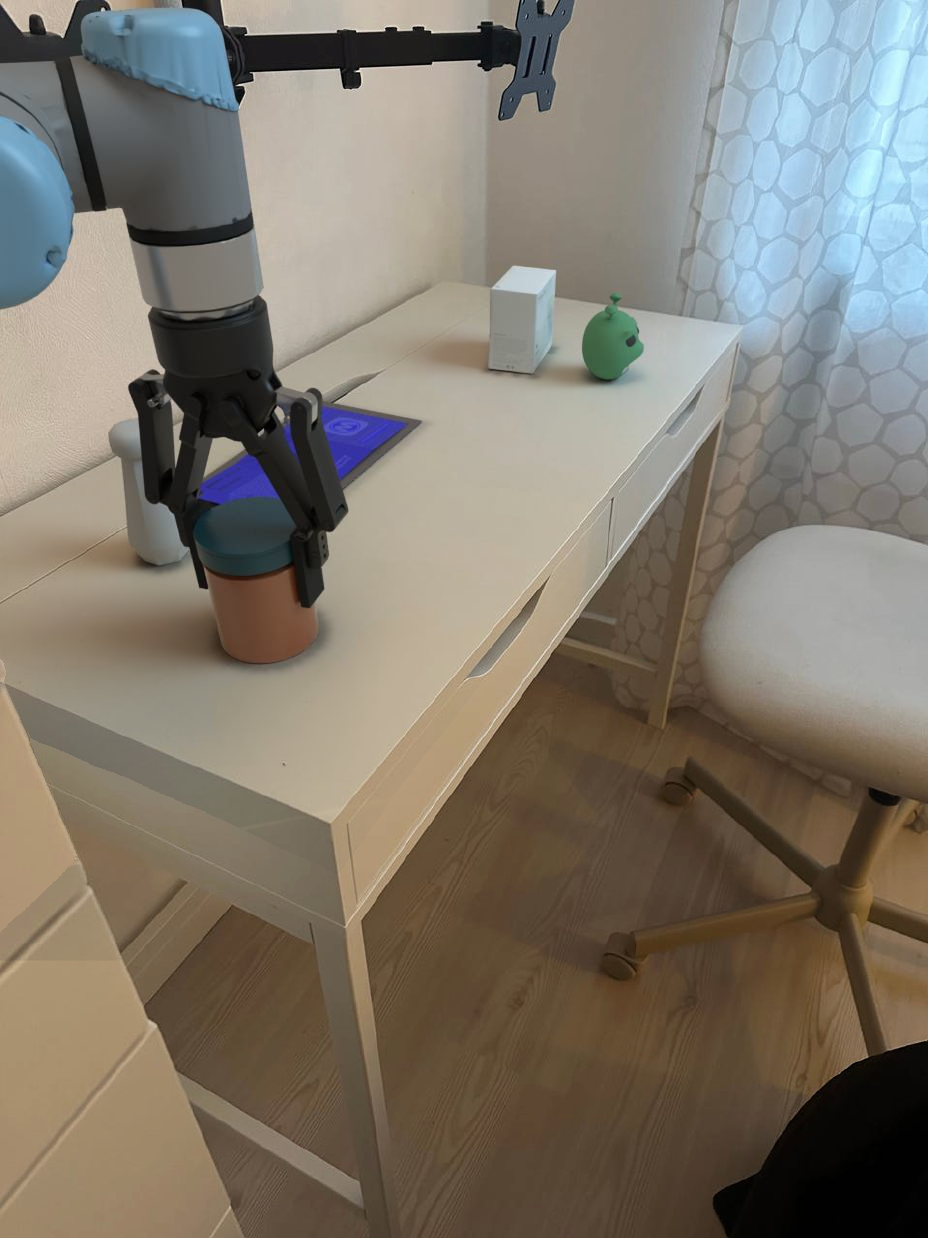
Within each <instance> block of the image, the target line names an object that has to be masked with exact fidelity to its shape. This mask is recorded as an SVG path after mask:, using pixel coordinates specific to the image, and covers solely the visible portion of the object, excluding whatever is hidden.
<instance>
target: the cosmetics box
mask: <svg viewBox="0 0 928 1238" xmlns="http://www.w3.org/2000/svg"><path fill="white" fill-rule="evenodd" d="M556 280H557V270H556V269H548V268H542V267H541V268H540V267H530V266H521V265H511V266H510V268H509V269H508V270H507V271H506V272H505V273H504V274H503V275H502V276H501V278H499V280H497V282H495V284H494V285H493V286H491V288H490V291H489V293H490V295H489V342H488V343H489V344H488V358H487V359H488V360H487V361H488V364H487V368H488V369H489V370H498V371H508V372H515V373H523V374H530V375H531V374H534V373H535V371H536V370H537V368H538V367H539V366H540V364H541V363H542V361H543V360H544V358H545V357H546V356H547V353H548V352H549V351H550V349H551V348H552V345H553V328H554V327H553V326H554V310H555V297H556V296H555V295H556Z"/></svg>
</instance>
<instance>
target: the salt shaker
mask: <svg viewBox="0 0 928 1238" xmlns="http://www.w3.org/2000/svg"><path fill="white" fill-rule="evenodd" d="M107 435H108V443H109V447H110V449H111V452H112V454H113V455H114V456H116V457H118V459H119V458H120V461H121V462H120V463H121V470H122V471H121V472H122V482H123V492H124V493H123V494H124V502H125V517H126V531H127V532H126V533H127V534H126V535H127V538H128V542H129V544H130V547H131V548H132V549H133V550H134V552H136V553H137V555H138V556H140V557H141V559H142V560H143V561H144V562H146V563H150V564H152V565H154V566H155V565H156V566H158V567H159V566H165V565H168V564H172V563H177V562H180V561H181V560H182V559H183V558H184V557H185V556H186V554H187V553H188V552H190V549H189V547H184V546H183V544H182V542H181V541H180V537H179V533H178V529H177V525H176V521H175V517H174V514H173V513H171V512H170V510H169V509H168V507H167V506H166V505H163V504H161V503H158V504H151V503H149V502H148V501H147V499H146V498H145V491H144V480H143V468H142V456H141V445H140V433H139V422H138V417H134V418H128V419H124V420H120V421H118V422H117V423H115V424H113V425H112V427H111V428H110V429H109V431H108V433H107Z"/></svg>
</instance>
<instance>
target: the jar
mask: <svg viewBox="0 0 928 1238" xmlns="http://www.w3.org/2000/svg"><path fill="white" fill-rule="evenodd" d="M202 565H203V569H204V573H205V577H206V581H207V586H208V593H209V598H210V602H211V606H212V610H213V614H214V619H215V623H216V628H217V631H218V635H219V639H220V644H221V646H222V648H223V650H224V651H225V653H227V654H228V655H229V656H230V657H232V658H234V659H236V660H238V661H241V662H245V663H250V664H269V663H270V664H271V663H277V662H282V661H285V660H288V659H290V658H293V657H295V656H297V655H299V654H301V653H302V652H304V651H305V650H307V649H308V648H309V647H310V646H311V645H312V644H313V643H314V641H315V640H316V638H317V637H318V634H319V630H320V625H319V624H320V623H319V617H318V612H317V611H318V610H317V605H316V601H315V602H314V604H313V605H312V606H311V608H304V607H301V603H300V597H299V591H298V585H297V579H296V573H295V566H294V561H292V562H291V563H289V564H287V565H285V566H283V567H281V568H279V569H276V570H273V571H270V572H266V573H262V574H256V575H245V576H238V575H228V574H223V573H219V572H216V571H213V570H211V569H209V568H208V567H206V566H205V565H204V564H203V563H202Z"/></svg>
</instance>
